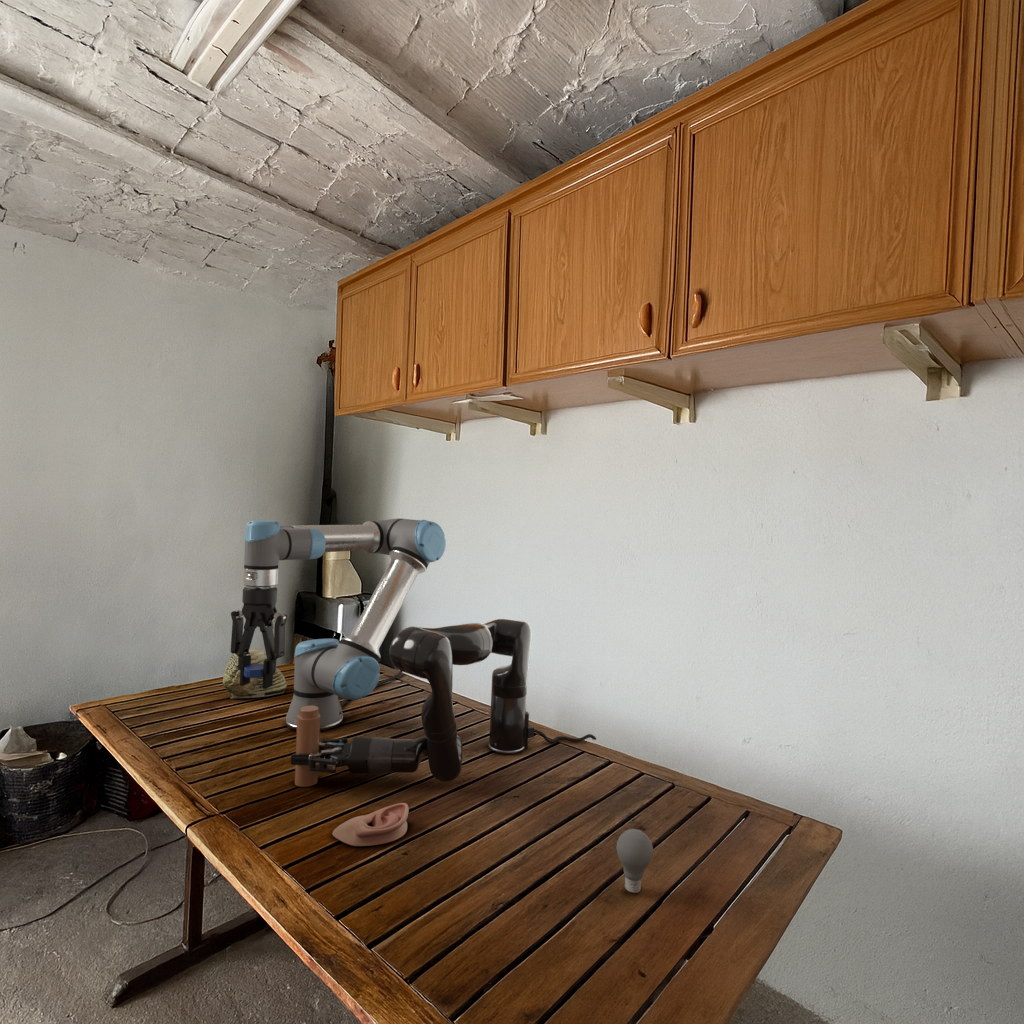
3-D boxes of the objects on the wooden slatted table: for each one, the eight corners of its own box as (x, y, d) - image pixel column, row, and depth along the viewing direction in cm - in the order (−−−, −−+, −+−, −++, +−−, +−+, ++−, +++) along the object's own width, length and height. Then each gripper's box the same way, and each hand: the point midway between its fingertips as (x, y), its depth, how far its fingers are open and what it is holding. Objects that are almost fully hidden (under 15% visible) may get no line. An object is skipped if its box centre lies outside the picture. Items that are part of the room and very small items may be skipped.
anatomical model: (325, 820, 116) (352, 792, 127) (324, 841, 116) (352, 812, 128) (392, 830, 114) (415, 801, 125) (392, 852, 114) (414, 821, 125)
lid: (240, 673, 148) (241, 665, 148) (264, 670, 152) (265, 662, 152) (247, 679, 144) (247, 671, 144) (271, 676, 147) (272, 668, 147)
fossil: (218, 695, 195) (220, 647, 195) (278, 685, 208) (279, 640, 207) (228, 703, 189) (230, 653, 188) (289, 692, 201) (290, 645, 201)
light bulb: (610, 879, 108) (613, 822, 108) (644, 879, 109) (647, 822, 109) (619, 902, 102) (622, 840, 102) (655, 901, 103) (658, 840, 103)
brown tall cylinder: (321, 777, 143) (323, 705, 142) (313, 787, 138) (316, 712, 138) (299, 776, 143) (302, 704, 143) (291, 786, 138) (293, 711, 138)
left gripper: (215, 585, 146) (211, 685, 146) (286, 591, 142) (281, 694, 142) (236, 581, 153) (232, 677, 154) (304, 587, 149) (300, 685, 149)
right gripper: (378, 727, 148) (304, 725, 147) (368, 751, 134) (286, 750, 133) (376, 758, 148) (302, 757, 147) (366, 786, 134) (284, 785, 133)
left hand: (256, 685), depth 148 cm, fingers closed on lid, 5 cm apart
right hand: (295, 754), depth 140 cm, fingers closed on brown tall cylinder, 5 cm apart
